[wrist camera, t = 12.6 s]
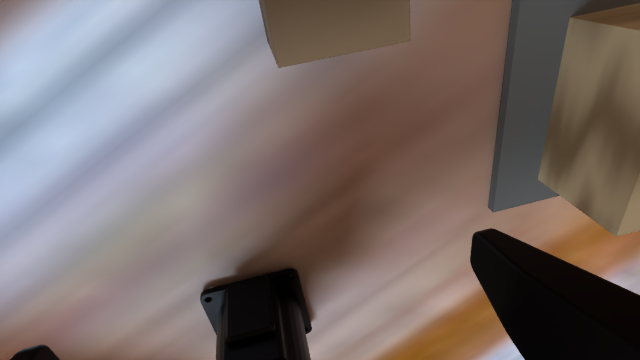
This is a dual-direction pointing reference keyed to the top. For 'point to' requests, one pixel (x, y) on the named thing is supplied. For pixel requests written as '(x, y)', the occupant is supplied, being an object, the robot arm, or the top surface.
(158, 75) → the top surface
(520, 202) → the mat
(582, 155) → the wooden block
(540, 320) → the robot arm
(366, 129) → the top surface
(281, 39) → the brown wooden cube
